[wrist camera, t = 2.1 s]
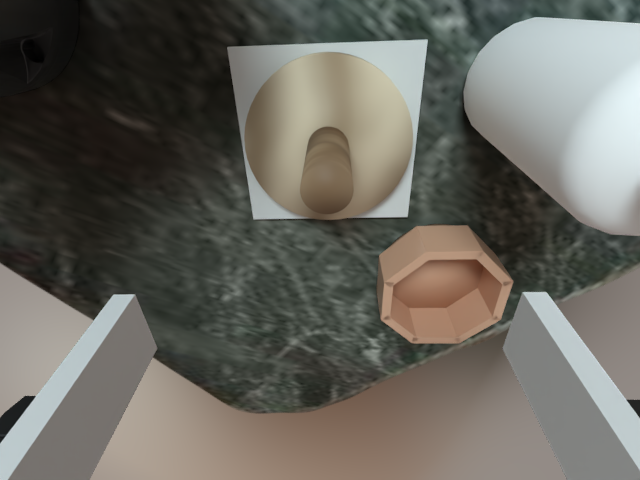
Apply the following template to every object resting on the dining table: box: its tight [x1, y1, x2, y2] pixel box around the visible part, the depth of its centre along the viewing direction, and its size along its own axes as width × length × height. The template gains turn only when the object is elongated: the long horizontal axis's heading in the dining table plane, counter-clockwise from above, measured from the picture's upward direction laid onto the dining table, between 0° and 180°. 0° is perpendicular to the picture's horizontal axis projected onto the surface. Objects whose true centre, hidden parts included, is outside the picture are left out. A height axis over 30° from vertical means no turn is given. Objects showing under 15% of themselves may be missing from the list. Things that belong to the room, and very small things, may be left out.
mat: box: [227, 40, 428, 219], centre depth 29 cm, size 14×14×1 cm
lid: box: [244, 52, 413, 220], centre depth 25 cm, size 13×13×9 cm
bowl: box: [377, 224, 513, 343], centre depth 34 cm, size 11×11×5 cm
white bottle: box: [463, 17, 640, 236], centre depth 19 cm, size 8×8×18 cm
